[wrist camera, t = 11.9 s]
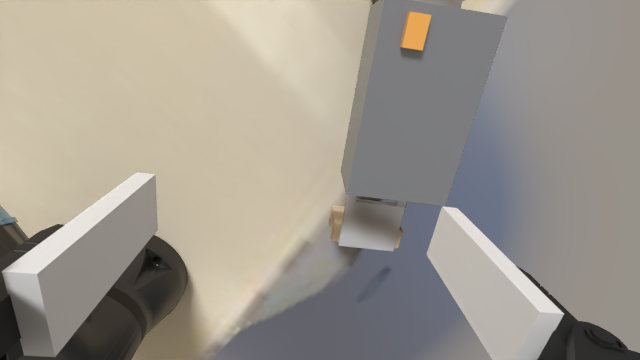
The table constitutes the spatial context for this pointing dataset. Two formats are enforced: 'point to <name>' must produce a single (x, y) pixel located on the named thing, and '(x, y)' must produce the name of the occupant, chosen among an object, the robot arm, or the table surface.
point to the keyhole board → (372, 209)
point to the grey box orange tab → (416, 98)
